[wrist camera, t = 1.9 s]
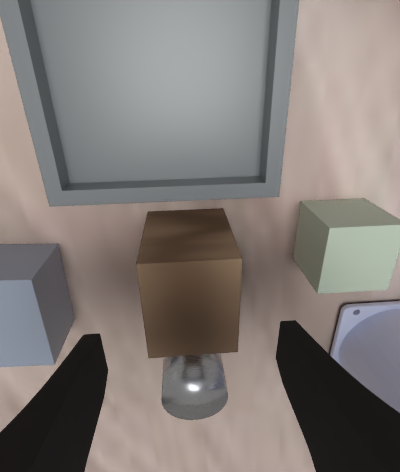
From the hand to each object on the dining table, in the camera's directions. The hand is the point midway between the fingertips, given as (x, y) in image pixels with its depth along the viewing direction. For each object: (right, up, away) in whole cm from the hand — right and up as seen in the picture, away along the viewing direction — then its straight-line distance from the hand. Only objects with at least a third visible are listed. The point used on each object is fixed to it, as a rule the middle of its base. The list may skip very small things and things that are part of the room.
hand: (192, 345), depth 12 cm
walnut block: (0, +4, +7) cm, 8 cm away
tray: (-2, +12, +3) cm, 13 cm away
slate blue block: (-10, +1, +8) cm, 13 cm away
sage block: (+8, +5, +7) cm, 12 cm away
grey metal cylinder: (0, -3, +10) cm, 11 cm away
